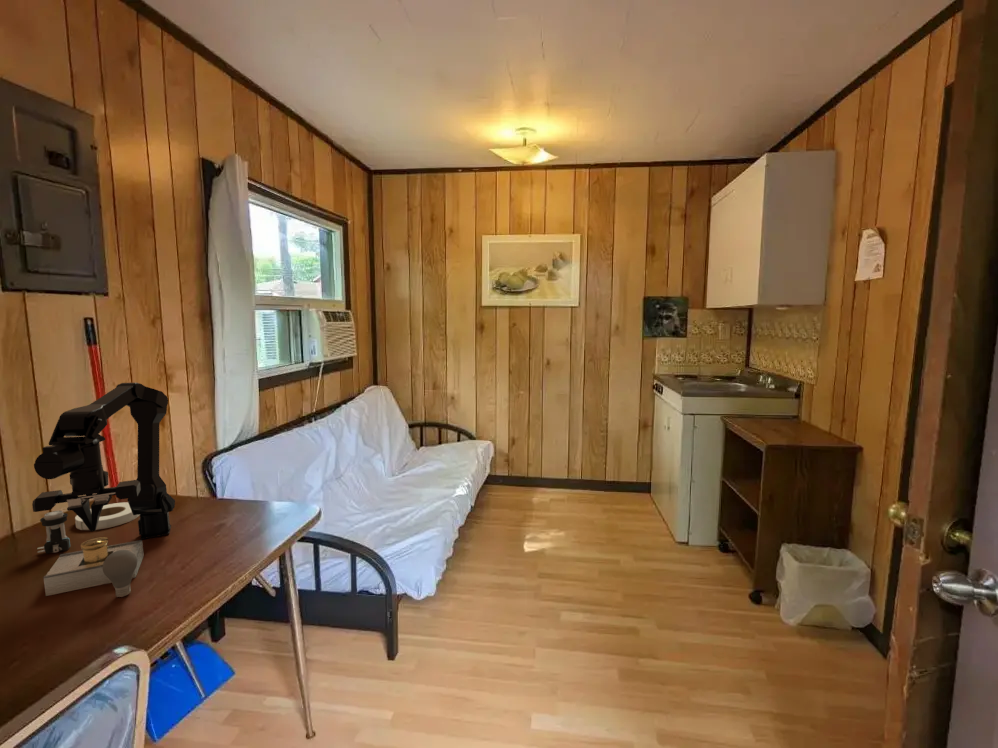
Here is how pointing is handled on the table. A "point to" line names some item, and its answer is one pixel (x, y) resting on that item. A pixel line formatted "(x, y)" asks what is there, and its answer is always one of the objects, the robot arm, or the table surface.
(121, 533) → the table surface
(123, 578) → the light bulb
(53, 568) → the jig
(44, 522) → the push button
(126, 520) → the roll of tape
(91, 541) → the door knob
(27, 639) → the table surface
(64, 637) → the table surface
